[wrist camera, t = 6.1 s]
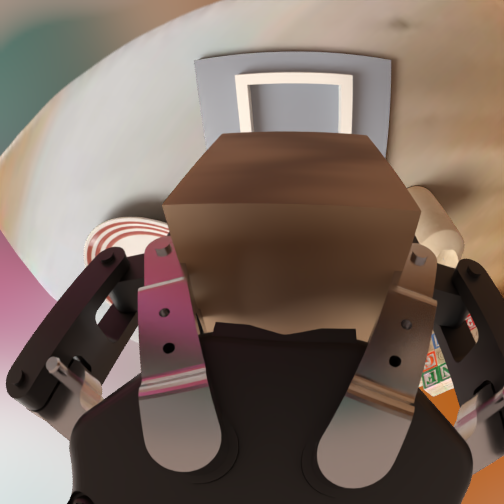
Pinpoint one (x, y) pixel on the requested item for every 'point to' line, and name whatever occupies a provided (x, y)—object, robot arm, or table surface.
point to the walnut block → (292, 230)
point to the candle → (437, 228)
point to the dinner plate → (123, 237)
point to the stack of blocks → (440, 365)
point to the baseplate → (295, 94)
